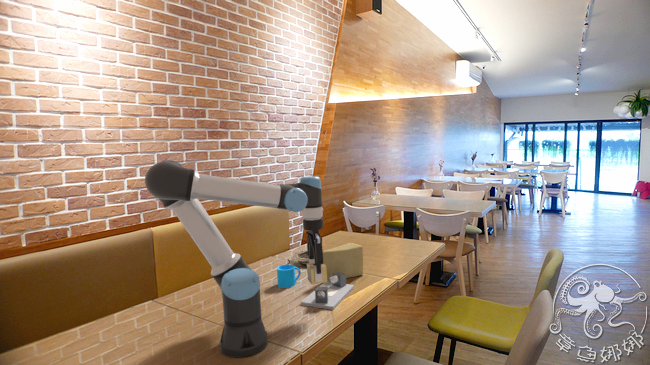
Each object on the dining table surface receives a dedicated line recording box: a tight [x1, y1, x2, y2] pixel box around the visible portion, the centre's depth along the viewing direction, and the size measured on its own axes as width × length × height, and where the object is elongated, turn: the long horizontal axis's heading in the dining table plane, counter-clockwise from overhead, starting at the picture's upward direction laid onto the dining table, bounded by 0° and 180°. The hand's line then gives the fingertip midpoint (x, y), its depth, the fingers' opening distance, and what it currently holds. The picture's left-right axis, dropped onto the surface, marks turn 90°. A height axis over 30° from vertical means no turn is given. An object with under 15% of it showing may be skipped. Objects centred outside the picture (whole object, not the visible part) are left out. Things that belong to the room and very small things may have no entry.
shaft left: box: [314, 284, 328, 303], centre depth 151 cm, size 7×5×5 cm
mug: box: [276, 264, 302, 289], centre depth 174 cm, size 12×8×8 cm
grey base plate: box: [300, 282, 355, 311], centre depth 158 cm, size 24×14×1 cm, turn 156°
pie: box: [288, 250, 310, 267], centre depth 206 cm, size 28×27×5 cm
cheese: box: [321, 242, 364, 285], centre depth 178 cm, size 22×10×15 cm, turn 127°
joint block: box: [306, 263, 327, 286], centre depth 141 cm, size 6×6×6 cm
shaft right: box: [329, 272, 347, 288], centre depth 165 cm, size 7×5×5 cm
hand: (316, 278), depth 142 cm, fingers closed on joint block, 6 cm apart
